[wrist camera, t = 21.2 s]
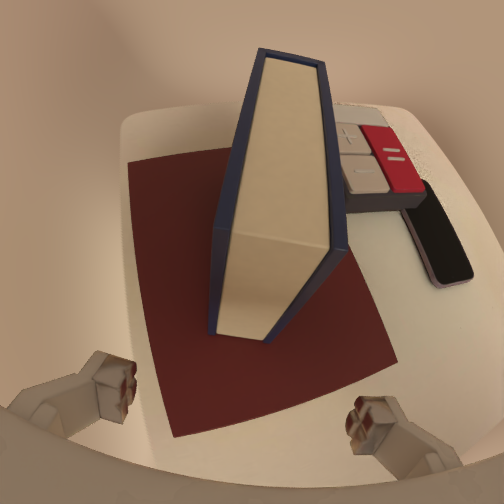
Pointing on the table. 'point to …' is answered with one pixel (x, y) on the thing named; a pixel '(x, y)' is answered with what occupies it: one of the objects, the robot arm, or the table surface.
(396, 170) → the calculator
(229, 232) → the hardcover book
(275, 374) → the encyclopedia
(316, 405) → the table surface
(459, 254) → the smartphone
